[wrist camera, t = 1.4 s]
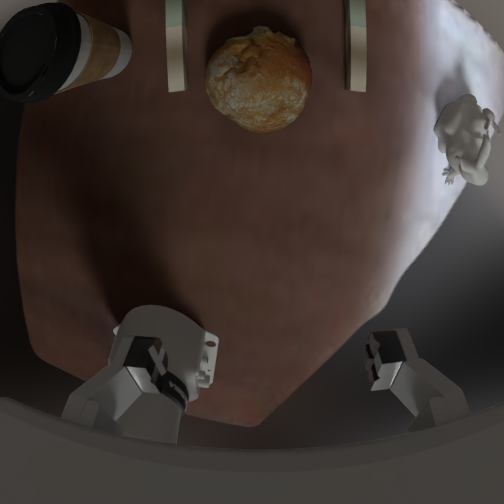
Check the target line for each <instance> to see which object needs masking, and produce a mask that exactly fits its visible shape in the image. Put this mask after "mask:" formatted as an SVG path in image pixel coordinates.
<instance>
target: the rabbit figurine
mask: <svg viewBox="0 0 504 504" xmlns="http://www.w3.org/2000/svg"><path fill="white" fill-rule="evenodd" d="M494 118H495V116H494V114H493V112H492V111H491V110H489V109H488V108H485V109H483V110H482V109H481V107H480V106H479V105H477V100H476V98H475V97H474V96H473V95H471V94H465V95H463V96H461V97H460V98H459V99H458V100H457V101H455V102H451V103H450V104H449V105H447V106H446V107H445V108H444V110H443V112H442V114H441V116H440V118H439V120H438V122H437V124H436V126H435V128H434V132H435V134H436V135H437V136H438V137H439V150H440V152H441V153H445V152H446V157H447V160H448V162H449V164H450V165H451V167H452V168H451V169H450V170H444V172H447V173H446V174H442V175H443V176H445V175H447V178H446V180H445V182H446V183H447V182H448V185H449V184H450V181H451V185H452V184H453V179H454V176H456V175H458V174H461V175H462V177H463V178H464V179H465V180H466V181H468V182H470V183H474V184H475V185H484V184H485V183H486V182H487V180H488V176H489V172H488V169H487V167H486V166H485V162H486V160H487V158H488V156H489V154H490V151H491V150H490V148H491V142H490V140H489V135H488V127H489V125H490V124H492V126H493V128H494V130H495V131H496V133H497V135H498V136H500V135H501V131H500V130H499V128H498V126H497V125H496V123H495V122H494ZM448 179H449V180H448ZM446 183H445V184H446Z"/></svg>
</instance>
